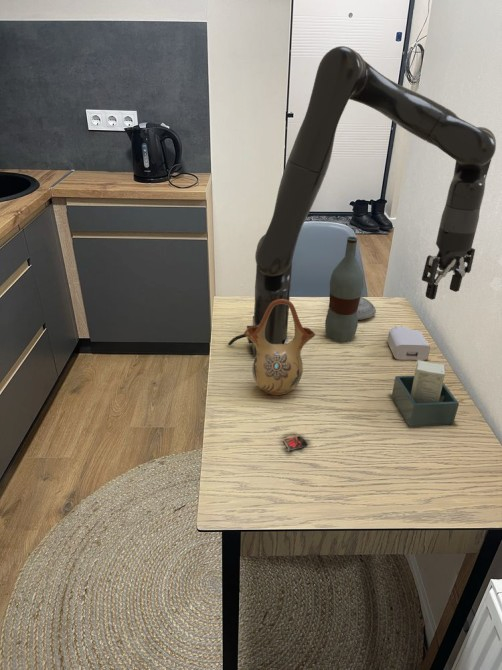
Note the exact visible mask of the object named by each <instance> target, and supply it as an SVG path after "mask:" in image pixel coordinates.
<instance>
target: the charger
mask: <svg viewBox="0 0 502 670" xmlns="http://www.w3.org/2000/svg"><path fill="white" fill-rule="evenodd" d="M386 343H387V344H388V347H389V349H390V351H391V353H392V356H393V357H394V359H396V360H401V361H418V360H421V361H427V360H428V359H429V357H430V352H431V346H430V345H429V343H428V340H427V339H426V337H425V336H424V335H423V333H422V331H421V330H419V329H410V328H408V327H407V326H403V325H400V326H397V325H395V326H394V327H392V328H391V329H390V330H388V335H387V339H386Z"/></svg>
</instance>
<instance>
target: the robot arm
mask: <svg viewBox="0 0 502 670" xmlns="http://www.w3.org/2000/svg"><path fill="white" fill-rule="evenodd" d="M349 100H350V101H354V102H355V103H356V102H357V103H360V104H363V105H364V106H367V107H368V108H371V109H373V110H375V111H377V112H379V113H380V114H381V115H384V116H385V117H386V118H388V119H389V120H391V121H392V122H394V123H395V124H396V125H398V126H399V127H401V128H402V129H404V130H405V131H407V132H408V133H411V134H412V135H414V136H416V137H417V138H419V139H421V140H423V141H425V142H426V143H428V144H430V145H433V146H435V147H436V148H438V149H439V150H441V151H442V152H443V153H445V154H446V155H448V156H449V157H450V158H452V159H453V160H455V164H454V170H453V175H452V179H451V181H450V183H449V188H448V191H447V196H446V200H445V204H444V209H443V211H442V213H441V218H440V223H439V228H438V232H437V237H436V241H435V245H436V246H437V248H438V252H437V254H436V255H434V256H433V255H430V254H429V255H427V256H426V259H425V263H424V268H423V273H422V276H421V281H422V282H425V283H427V285H426V290H425V297H426V299H430V300H435V299H436V296H437V293H438V288H439V283H440V282H441V280H442V279H443V278H445V277H446V276H447V275H448V273H450V272H452V273H453V274H452V275H451V280H450V284H449V290H450V291H452V292H455V293H457V292H459V291H460V288H461V286H462V282H463V278H464V277H465V276H466V274H469V273H470V272H471V271H472V268H473V263H474V259H475V258H474V257H475V252H476V249H475V248H474V247H473V244H474V240H475V236H476V233H477V228H478V225H479V220H480V211H481V207H482V204H483V200H484V195H485V190H486V179H487V176H488V173H489V169H490V166H491V162H492V159H493V157H494V155H495V153H496V149H497V140H496V136H495V135H494V133H493V131H492V130H490V129H489V128H487V127H483V126H476V125H474V124H472V123H470V122H468V121H466V120H464V119H463V118H460V117H459V116H458V115H457V114H456V113H455V112H453V111H452V110H451V109H449V108H448V107H445V106H444V105H442V104H440V103H439V102H436V101H435V100H433V99H431V98H429V97H427V96H425V95H423V94H420V93H419V92H416V91H414V90H411V89H409V88H407V87H405V86H403V85H400V84H399V83H396V82H395V81H392V80H391V79H389V78H388V77H386V76H385V75H384V74H382V73H380V72H379V71H378V70H377V69H375V67H373V66H372V65H371V64H370V63H368V62H367V61H366V60H365V59H364V58H363V57H362V55H361V54H360V53H359V52H357V51H356V50H354V49H353V48H351V47H349V46H345V45H341V46H340V45H339V46H336V47H333V48H331V49H330V50H329V51H327V52H326V53H325V54H324V55H323V57H322V58H321V60H320V61H319V64H318V66H317V70H316V74H315V78H314V82H313V86H312V91H311V94H310V97H309V102H308V104H307V105H308V106H307V109H306V112H305V115H304V118H303V120H302V123H301V125H300V127H299V130H298V132H297V135H296V138H295V140H294V143H293V145H292V148H291V151H290V152H289V156H288V159H287V160H286V164H285V167H284V170H283V173H282V175H281V179H280V182H279V187H278V191H277V195H276V200H275V205H274V210H273V214H272V217H271V219H270V223H269V226H268V227H267V230H266V232H265V233H264V234H263V235H262V236H261V237H260V238H259V240H258V242H257V245H256V250H255V254H254V255H255V256H254V259H255V264H256V265H255V266H256V270H255V282H254V306H253V308H254V309H253V316H252V325H246V329H248V328H250V327H253V326H256V327H257V326H258V325H259V324H260V322H261V321H262V319H263V316H264V314H265V312H266V310H267V308H268V306H269V305H270V303H271V302H273V301H274V300H277V299H286V300H288V301H290V298H291V286H292V272H293V271H292V269H293V258H294V254H295V251H296V247H297V243H298V240H299V236H300V232H301V230H302V228H303V225H304V223H305V221H306V219H307V217H308V215H309V213H310V212H311V209H312V207H313V205H314V203H315V201H316V199H317V196H318V194H319V193H320V190H321V187H322V185H323V183H324V179H325V178H326V175H327V172H328V169H329V166H330V162H331V160H332V155H333V148H334V143H335V139H336V133H337V129H338V125H339V123H340V120H341V117H342V116H343V113H344V111H345V109H346V106H347V105H348V102H349ZM465 263H466V264H465ZM438 269H439V270H438ZM436 275H437V276H436ZM289 312H290V308H289V306H287V305H285V304H277V305H275V306H274V307H273V309H272V311H271V313H270V315H269V317H268V320H267V323H266V328H265V338H266V340H267V341H268V342H269V343H271V344H288V341H289V336H288V327H289V314H290V313H289ZM243 338H247V343H248V344H249V345H250V344H251V347H252V353H253V356H254V357H255V356H256V346H255V345H254V343H253V342H252V341H251V340H250V339H249V338H248V337H247V336H246V335H245V334H244V333H243V334H239V335H237V336H235V337H233V338H232V339H231V340H230V341H229V342H228V343H227V345H228V346H232V345H233V344H234V343H235V342H236V341H238V340H240V339H243Z"/></svg>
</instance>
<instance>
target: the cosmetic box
mask: <svg viewBox="0 0 502 670" xmlns="http://www.w3.org/2000/svg"><path fill="white" fill-rule="evenodd" d="M414 371H415V372H414V375H415V376H414V381H413V386H412V390H411V397H412V398H413V400H414V401H415V403H435V402H439V398H440V394H441V390H442V386H443V383H444V381H445V379H446V364H444V363H439V362H433V361H427V360H416V367H415V370H414Z"/></svg>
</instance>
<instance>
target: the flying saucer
mask: <svg viewBox="0 0 502 670" xmlns="http://www.w3.org/2000/svg"><path fill="white" fill-rule="evenodd" d="M376 313H377V310H376V307H375V305H374V304H373V303H372V302H371V301H370V300H368V299H367V298H365V297H362V296H361V297H360V302H359V306H358V310H357V316H358V321H359V320H367V319H369V318H372V317H374V316H375V315H376Z"/></svg>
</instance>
